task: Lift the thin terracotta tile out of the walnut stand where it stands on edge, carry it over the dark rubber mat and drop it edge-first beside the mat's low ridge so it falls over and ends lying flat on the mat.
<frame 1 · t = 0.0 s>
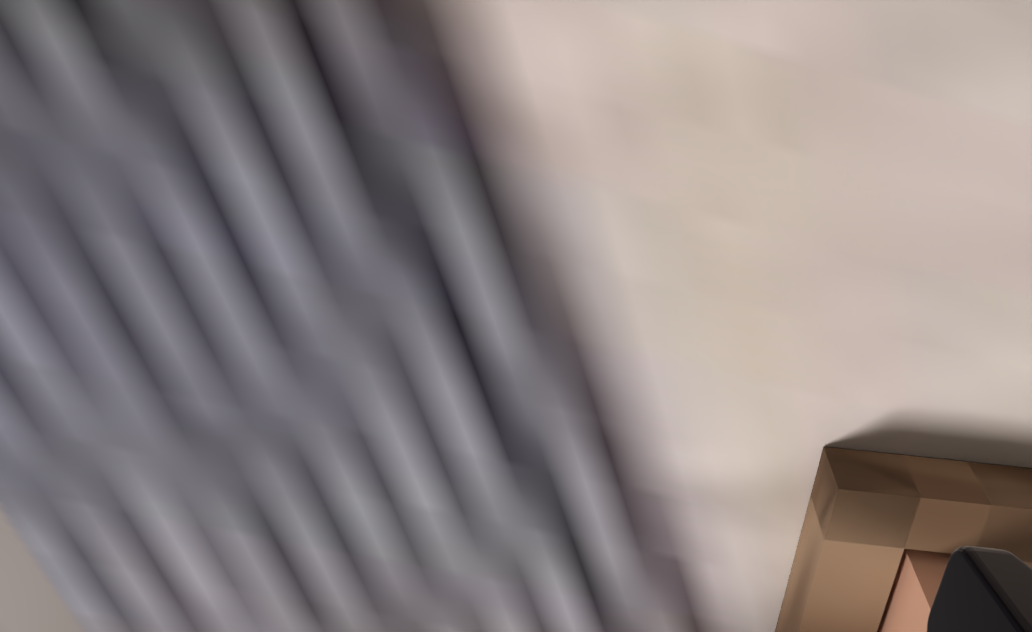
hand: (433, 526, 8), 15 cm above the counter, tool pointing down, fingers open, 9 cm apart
stand: (878, 627, 28), on the counter
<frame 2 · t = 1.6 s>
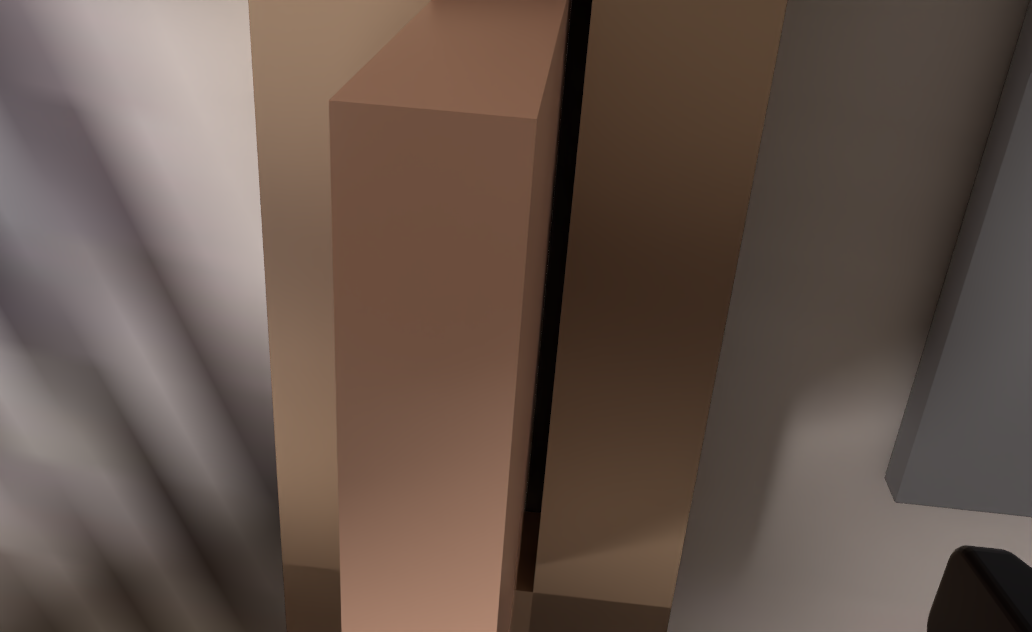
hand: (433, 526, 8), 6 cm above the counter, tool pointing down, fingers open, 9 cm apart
tile: (475, 386, 10), in the stand
stand: (505, 259, 13), on the counter
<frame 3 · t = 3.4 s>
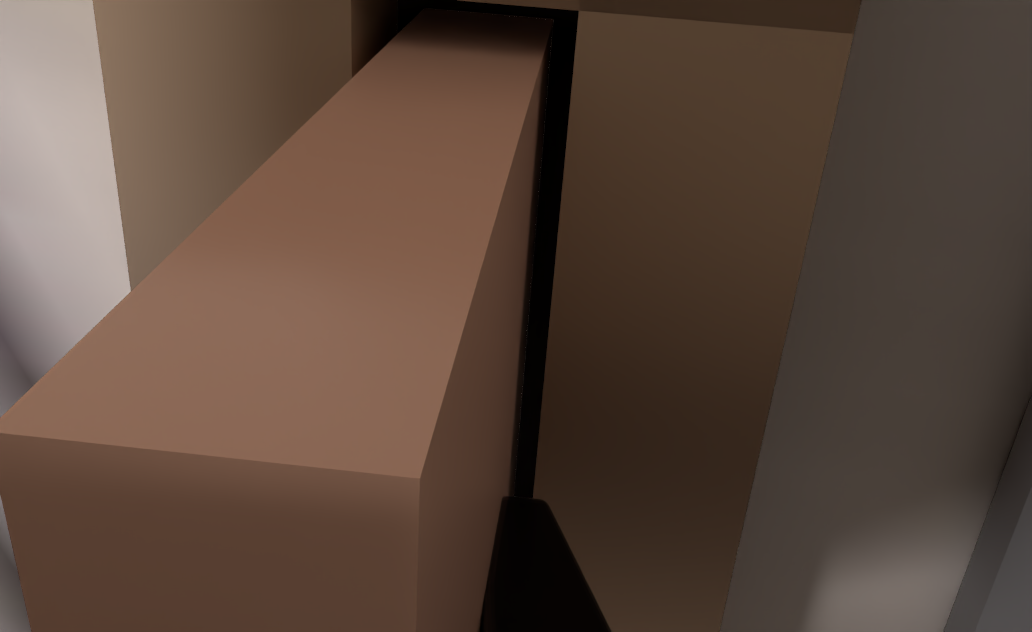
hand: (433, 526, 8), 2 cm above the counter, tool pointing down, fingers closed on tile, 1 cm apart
tile: (412, 611, 8), in the stand, touching gripper
stand: (469, 383, 11), on the counter
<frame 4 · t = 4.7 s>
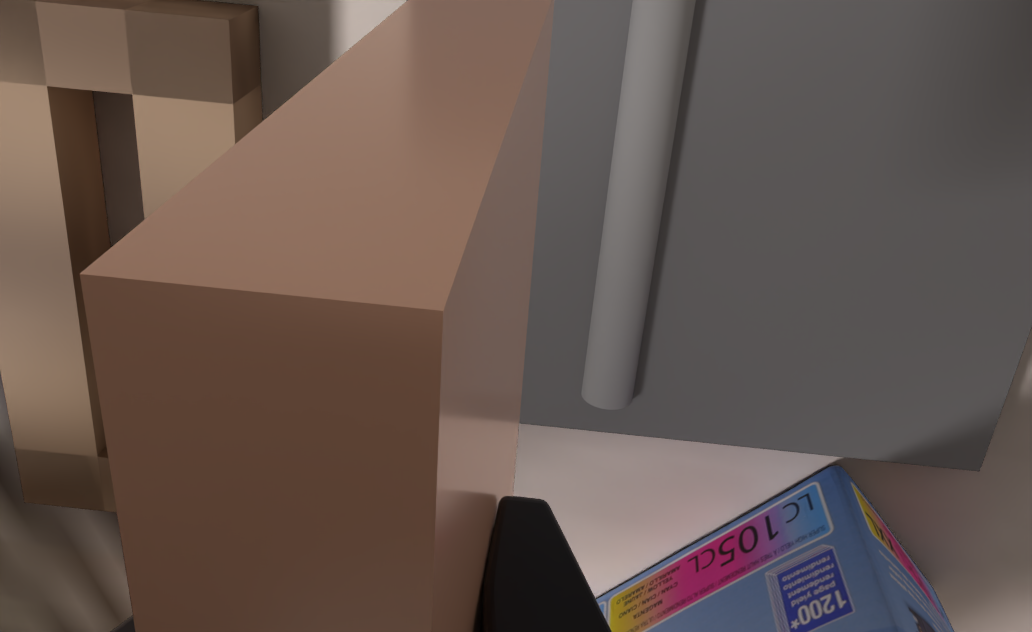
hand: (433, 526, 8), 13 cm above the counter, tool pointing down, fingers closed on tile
tile: (421, 539, 8), point 14 cm above the counter, touching gripper
ink cartridge box: (727, 601, 26), on the counter
mat: (744, 102, 20), on the counter
stand: (147, 260, 22), on the counter
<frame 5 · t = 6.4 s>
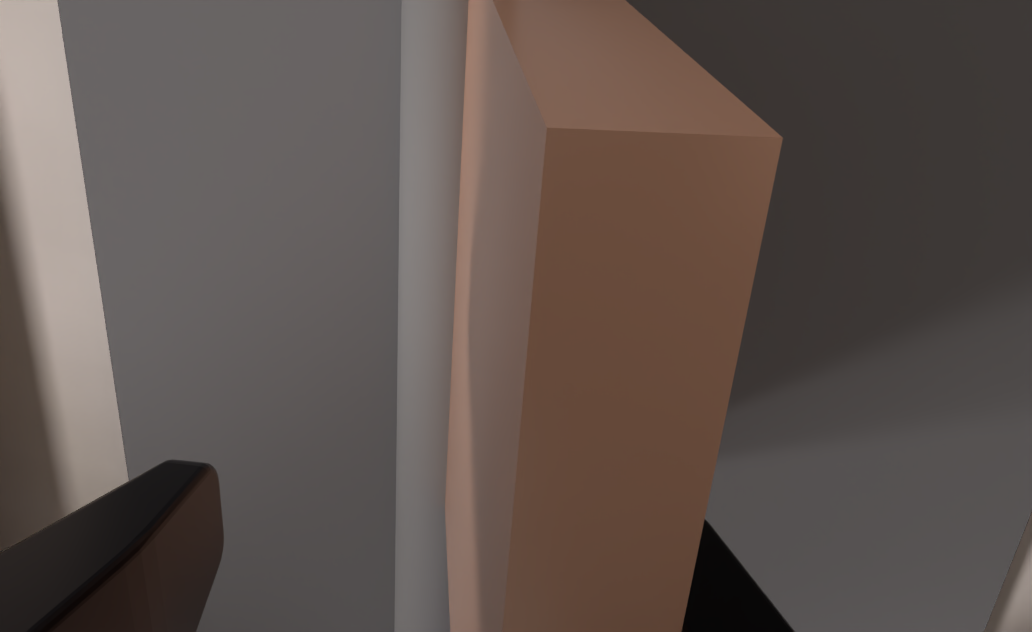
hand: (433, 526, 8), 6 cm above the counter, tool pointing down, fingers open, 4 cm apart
tile: (528, 416, 10), on the mat, point 4 cm above the counter, tilted 10°
mat: (586, 264, 14), on the counter
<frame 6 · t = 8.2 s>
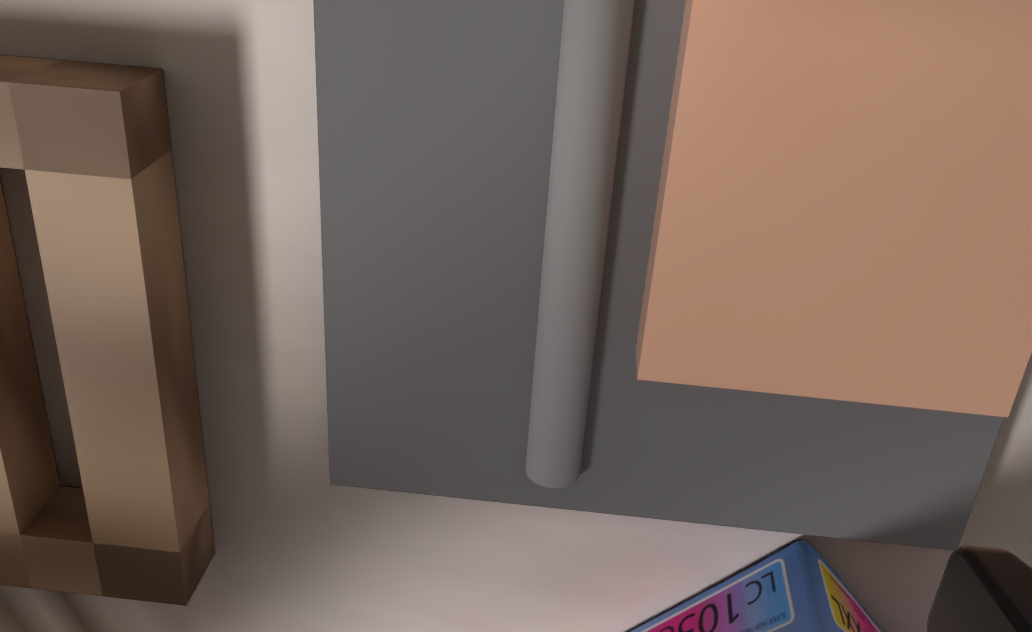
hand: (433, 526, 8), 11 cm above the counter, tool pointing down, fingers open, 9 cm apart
tile: (862, 188, 17), point 1 cm above the counter, tilted 90°, touching mat
mat: (688, 165, 18), on the counter
stand: (66, 330, 21), on the counter
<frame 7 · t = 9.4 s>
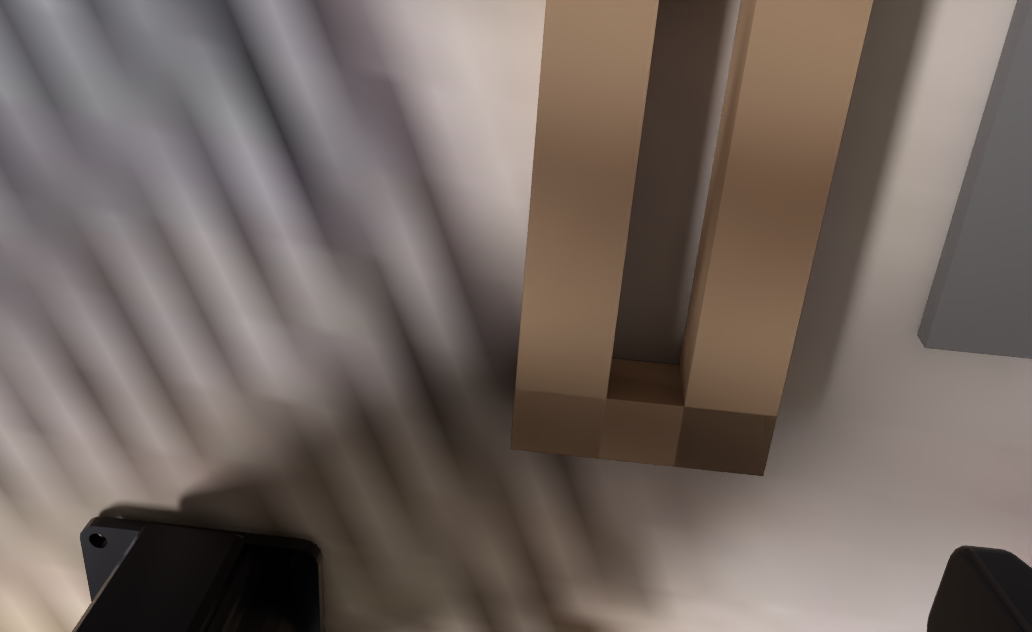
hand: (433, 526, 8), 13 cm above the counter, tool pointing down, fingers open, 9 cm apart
stand: (669, 183, 20), on the counter
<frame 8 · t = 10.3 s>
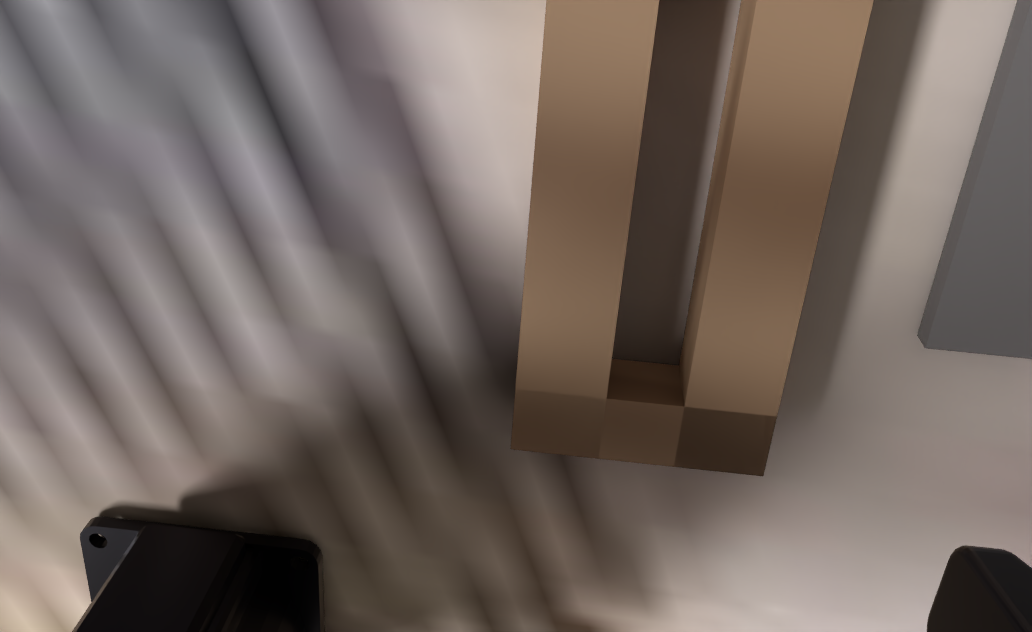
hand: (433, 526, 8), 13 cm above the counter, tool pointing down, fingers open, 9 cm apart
stand: (669, 183, 20), on the counter
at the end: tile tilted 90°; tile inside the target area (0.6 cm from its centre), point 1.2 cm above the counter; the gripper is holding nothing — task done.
